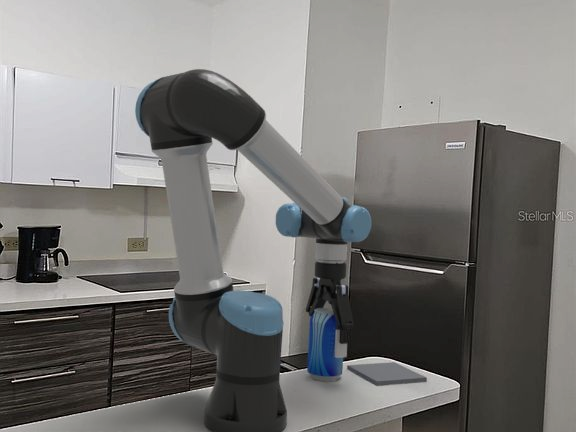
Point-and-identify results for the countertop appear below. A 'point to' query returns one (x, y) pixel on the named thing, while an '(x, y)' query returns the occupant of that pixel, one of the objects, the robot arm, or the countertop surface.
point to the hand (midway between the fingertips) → (326, 349)
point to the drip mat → (386, 373)
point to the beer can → (323, 347)
